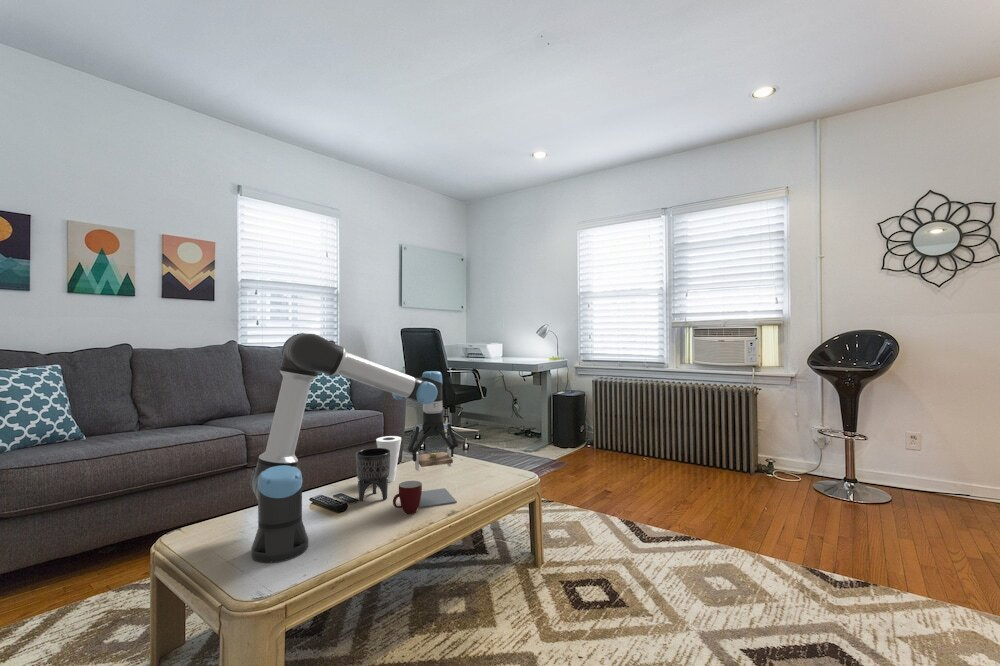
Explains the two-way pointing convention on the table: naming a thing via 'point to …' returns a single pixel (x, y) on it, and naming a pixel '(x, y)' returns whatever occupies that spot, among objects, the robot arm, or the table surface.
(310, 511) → the table surface
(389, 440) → the paper towel roll
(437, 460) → the lid
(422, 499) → the mat
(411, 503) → the mug
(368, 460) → the planter
